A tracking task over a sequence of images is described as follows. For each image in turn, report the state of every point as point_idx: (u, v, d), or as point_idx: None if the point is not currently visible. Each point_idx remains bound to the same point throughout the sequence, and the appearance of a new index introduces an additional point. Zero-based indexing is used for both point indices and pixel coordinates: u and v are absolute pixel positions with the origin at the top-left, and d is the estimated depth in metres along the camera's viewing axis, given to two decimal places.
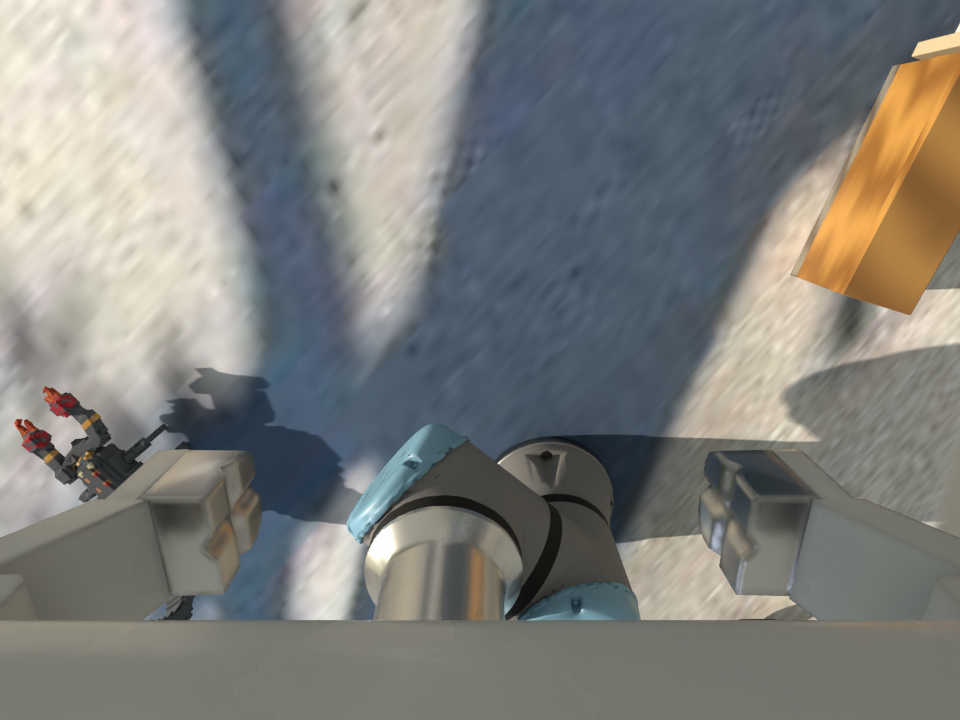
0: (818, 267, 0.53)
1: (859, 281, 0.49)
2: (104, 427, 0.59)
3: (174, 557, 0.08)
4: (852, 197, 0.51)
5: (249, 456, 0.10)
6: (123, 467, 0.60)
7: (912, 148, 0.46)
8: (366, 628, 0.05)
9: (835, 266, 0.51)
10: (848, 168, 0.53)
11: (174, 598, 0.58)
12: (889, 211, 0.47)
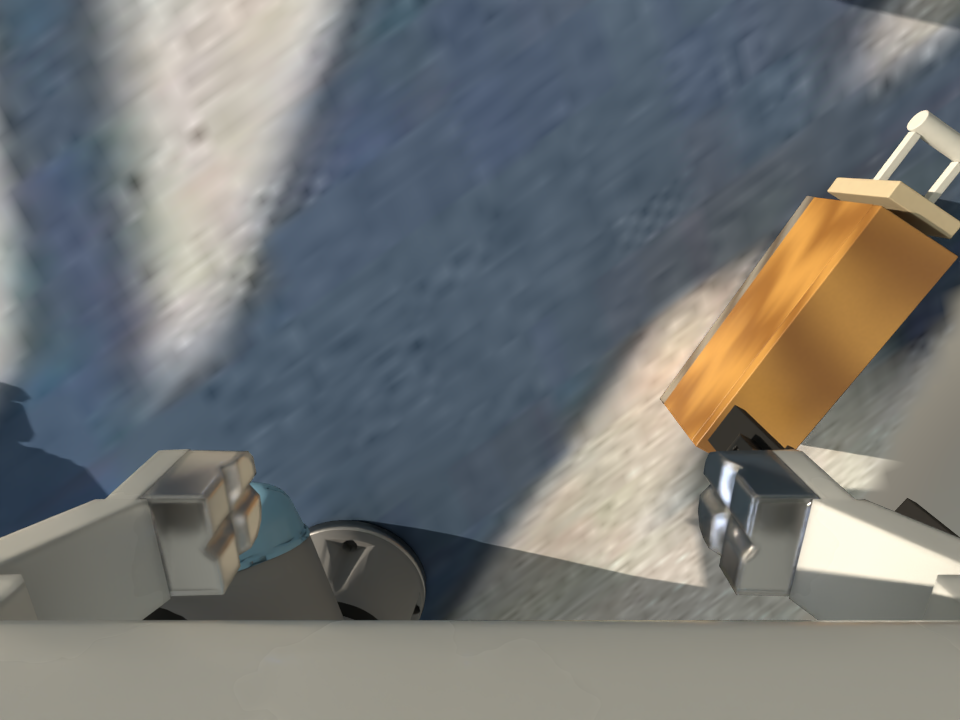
0: (684, 402, 0.46)
1: None
2: None
3: (174, 557, 0.08)
4: (733, 334, 0.44)
5: (249, 457, 0.10)
6: None
7: (799, 300, 0.39)
8: (366, 628, 0.05)
9: (698, 409, 0.44)
10: (738, 298, 0.46)
11: None
12: (761, 366, 0.39)
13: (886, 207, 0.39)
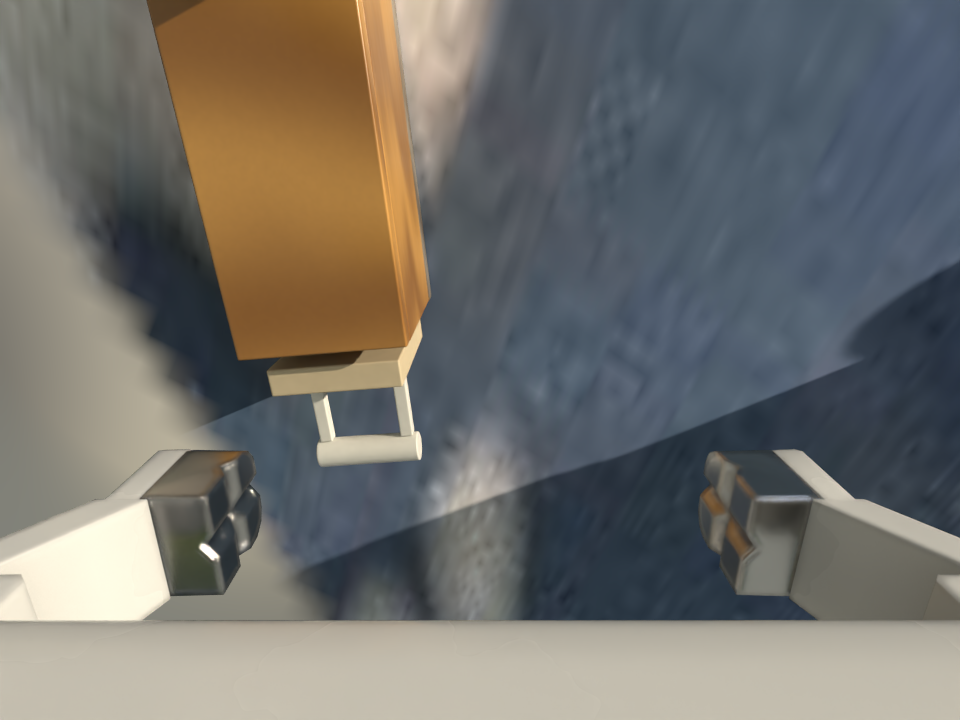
0: None
1: None
2: None
3: (174, 557, 0.08)
4: (386, 33, 0.23)
5: (249, 456, 0.10)
6: None
7: (382, 146, 0.20)
8: (366, 628, 0.05)
9: None
10: (405, 107, 0.26)
11: None
12: None
13: None
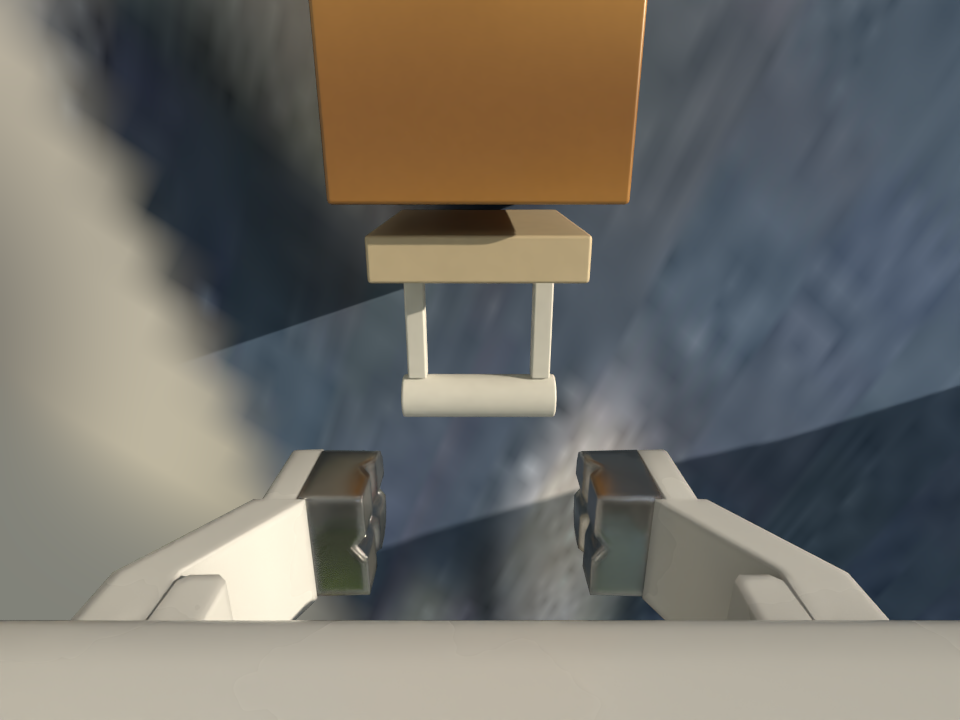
0: None
1: None
2: None
3: (325, 557, 0.08)
4: None
5: (380, 457, 0.10)
6: None
7: None
8: (366, 628, 0.05)
9: None
10: None
11: None
12: None
13: (520, 225, 0.15)
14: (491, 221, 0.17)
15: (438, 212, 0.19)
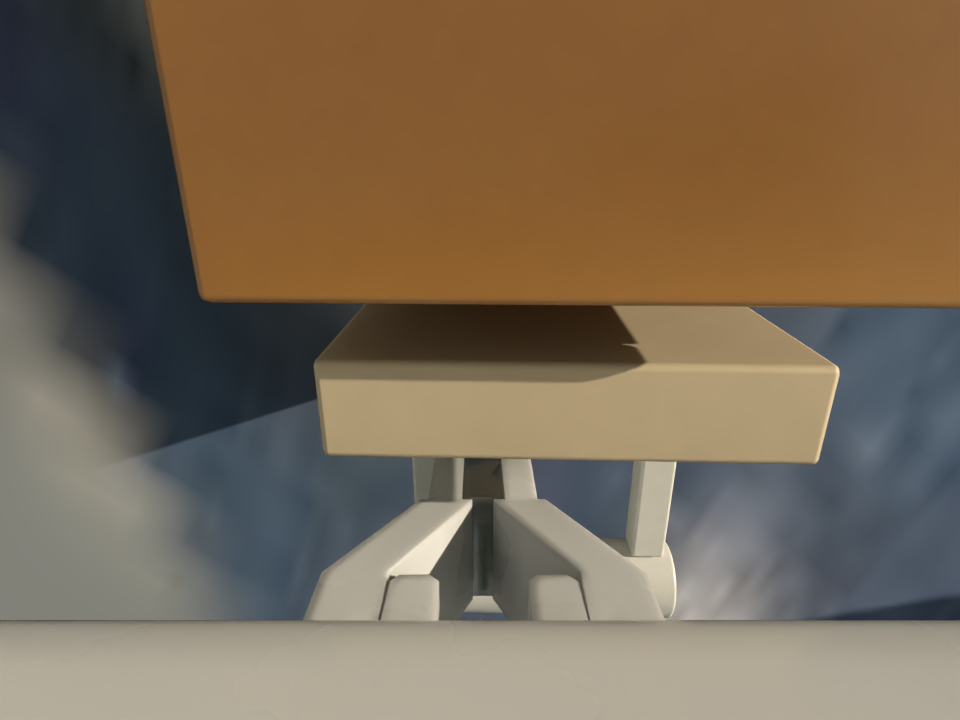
0: None
1: None
2: None
3: (484, 557, 0.08)
4: None
5: None
6: None
7: None
8: (366, 628, 0.05)
9: None
10: None
11: None
12: None
13: (642, 313, 0.08)
14: None
15: None
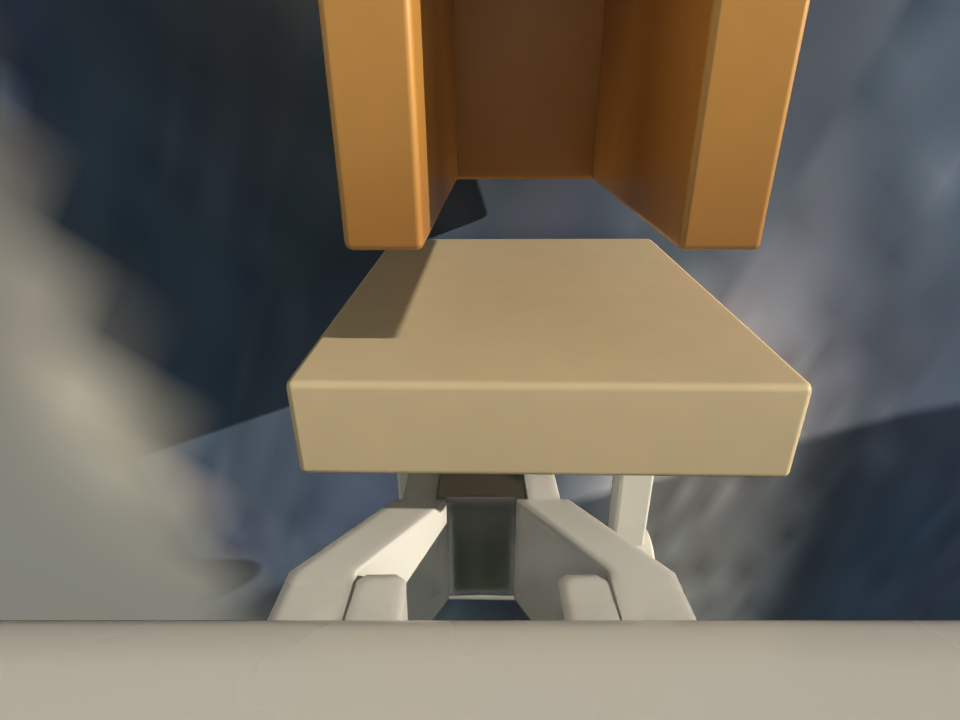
0: None
1: None
2: None
3: (460, 557, 0.08)
4: None
5: None
6: None
7: None
8: (366, 628, 0.05)
9: None
10: None
11: None
12: None
13: (621, 319, 0.08)
14: (554, 293, 0.09)
15: (453, 249, 0.11)
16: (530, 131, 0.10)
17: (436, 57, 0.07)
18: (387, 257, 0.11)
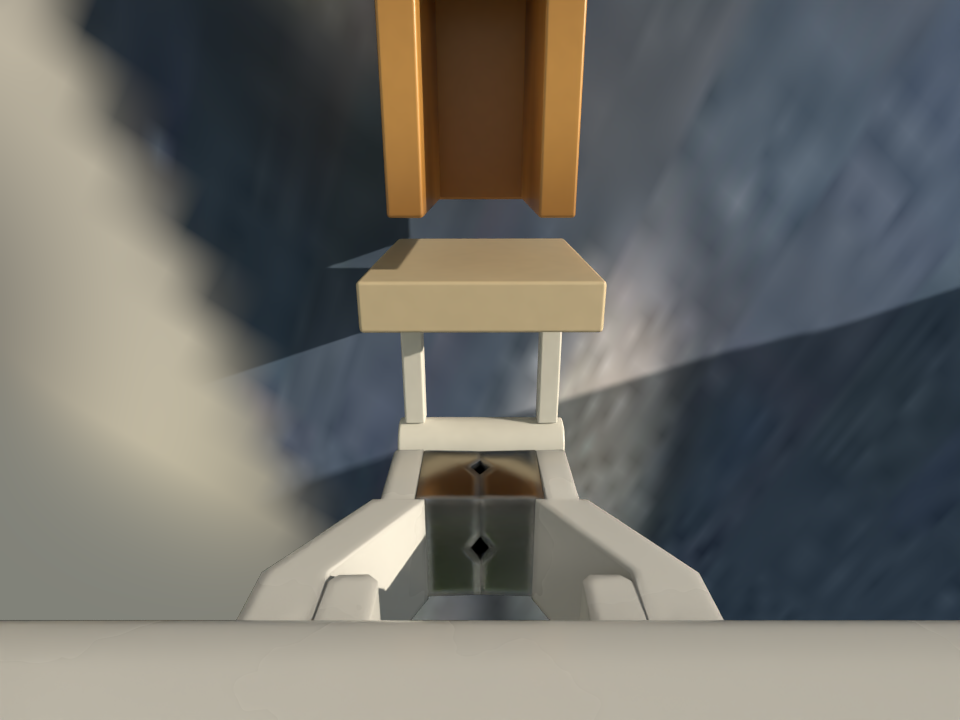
0: None
1: None
2: None
3: (439, 557, 0.08)
4: None
5: None
6: None
7: None
8: (366, 628, 0.05)
9: None
10: None
11: None
12: None
13: (527, 265, 0.14)
14: (494, 257, 0.15)
15: (437, 243, 0.18)
16: (483, 170, 0.17)
17: (429, 131, 0.13)
18: (396, 246, 0.17)
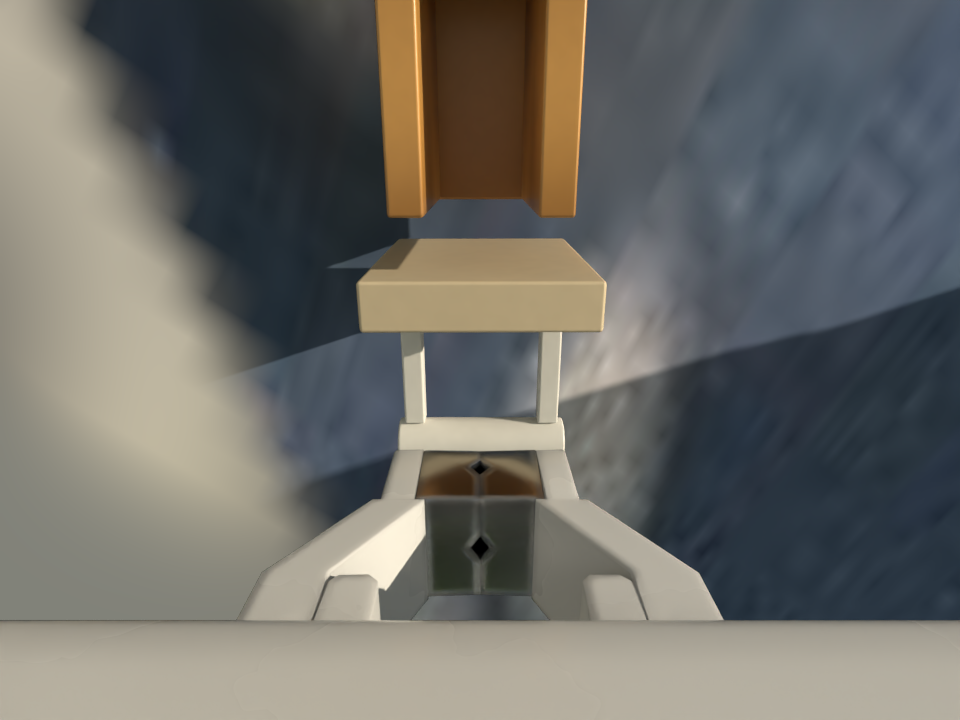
0: None
1: None
2: None
3: (439, 557, 0.08)
4: None
5: None
6: None
7: None
8: (366, 628, 0.05)
9: None
10: None
11: None
12: None
13: (527, 265, 0.14)
14: (494, 257, 0.15)
15: (437, 243, 0.18)
16: (483, 170, 0.17)
17: (429, 131, 0.13)
18: (396, 246, 0.17)
